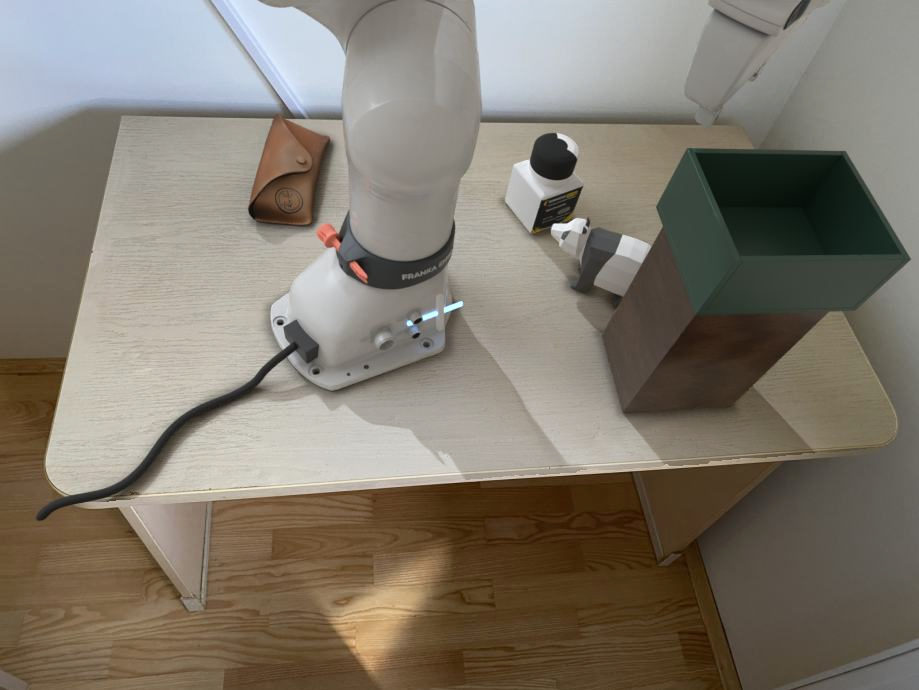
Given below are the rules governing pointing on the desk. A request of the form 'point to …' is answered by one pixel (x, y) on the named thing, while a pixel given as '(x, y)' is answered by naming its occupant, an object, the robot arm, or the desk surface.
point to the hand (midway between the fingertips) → (727, 97)
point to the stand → (689, 343)
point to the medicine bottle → (546, 183)
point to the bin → (776, 232)
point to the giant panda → (601, 256)
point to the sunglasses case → (287, 174)
